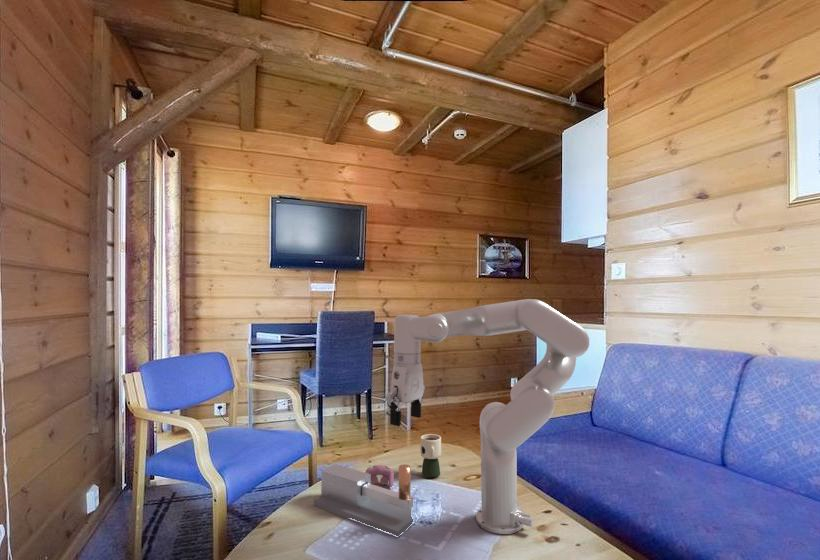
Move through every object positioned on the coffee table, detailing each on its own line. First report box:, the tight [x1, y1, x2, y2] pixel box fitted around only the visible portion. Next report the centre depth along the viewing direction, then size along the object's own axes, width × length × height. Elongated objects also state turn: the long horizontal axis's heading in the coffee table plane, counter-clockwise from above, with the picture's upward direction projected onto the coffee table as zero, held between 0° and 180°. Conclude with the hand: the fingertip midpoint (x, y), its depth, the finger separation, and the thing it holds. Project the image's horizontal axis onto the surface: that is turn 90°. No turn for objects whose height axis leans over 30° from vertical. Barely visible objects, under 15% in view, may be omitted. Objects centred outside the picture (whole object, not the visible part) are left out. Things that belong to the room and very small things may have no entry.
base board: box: [313, 496, 413, 536], centre depth 116 cm, size 30×12×2 cm, turn 57°
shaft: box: [361, 464, 414, 510], centre depth 114 cm, size 20×3×10 cm, turn 57°
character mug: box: [419, 433, 442, 479], centre depth 139 cm, size 11×7×13 cm, turn 4°
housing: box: [320, 463, 372, 509], centre depth 120 cm, size 14×6×7 cm, turn 57°
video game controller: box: [364, 464, 395, 488], centre depth 132 cm, size 10×5×7 cm, turn 84°
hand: (406, 420), depth 113 cm, fingers open, 9 cm apart
